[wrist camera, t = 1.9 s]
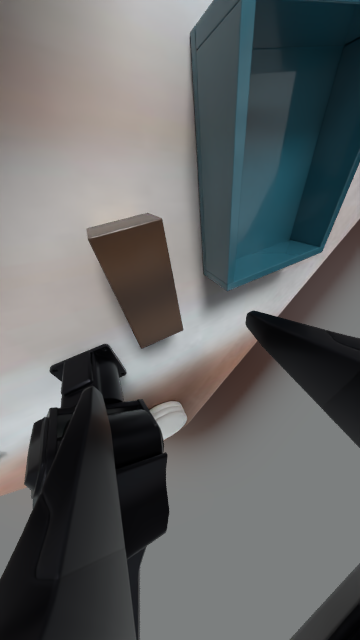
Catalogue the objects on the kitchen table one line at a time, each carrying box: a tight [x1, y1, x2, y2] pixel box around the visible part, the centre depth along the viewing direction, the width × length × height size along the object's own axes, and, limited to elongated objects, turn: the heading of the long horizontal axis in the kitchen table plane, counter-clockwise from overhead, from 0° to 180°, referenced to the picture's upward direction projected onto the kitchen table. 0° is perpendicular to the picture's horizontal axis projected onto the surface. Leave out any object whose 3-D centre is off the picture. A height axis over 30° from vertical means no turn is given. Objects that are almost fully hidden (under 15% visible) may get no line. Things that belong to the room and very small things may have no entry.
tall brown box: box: [87, 213, 183, 349], centre depth 15 cm, size 10×4×5 cm, turn 9°
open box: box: [190, 0, 360, 291], centre depth 15 cm, size 16×14×5 cm
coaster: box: [149, 401, 187, 440], centre depth 36 cm, size 10×10×4 cm
